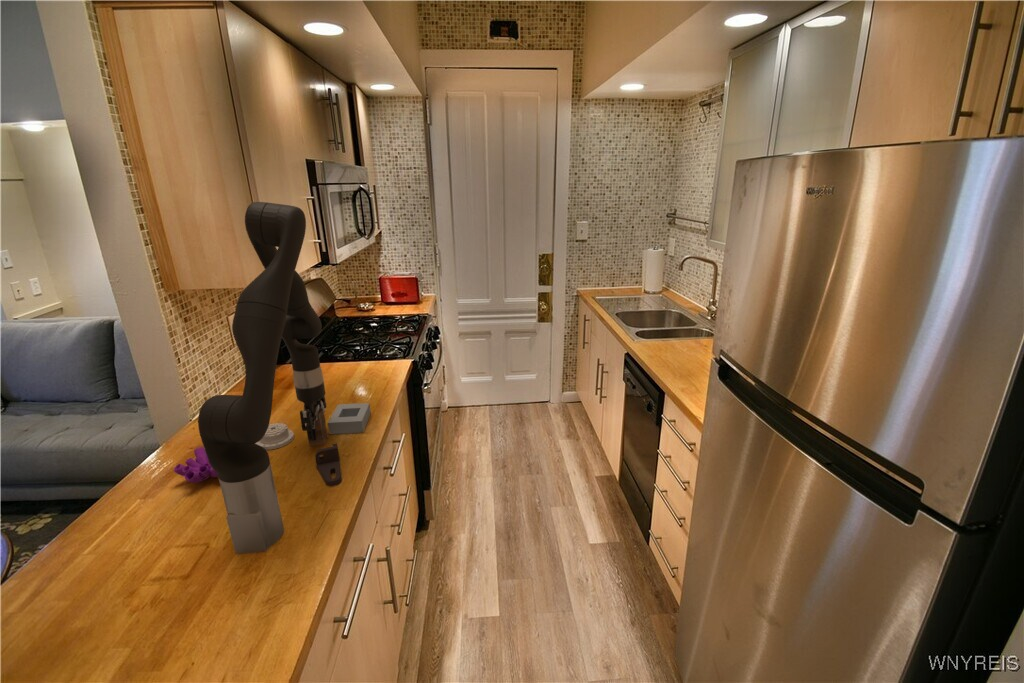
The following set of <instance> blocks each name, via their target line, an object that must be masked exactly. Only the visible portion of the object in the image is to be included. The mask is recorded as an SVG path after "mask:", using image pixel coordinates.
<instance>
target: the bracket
mask: <svg viewBox="0 0 1024 683" xmlns="http://www.w3.org/2000/svg"><path fill="white" fill-rule="evenodd" d="M338 446H339V445H338V443H337V442H336V443H332V444H331V446H329V447H325V448H320V449H318V450H316V452H315V455H314V457H315V458H314V459H315V465H316V469H317V470H318V472H319V474H320V475H321V478H322V480H323V481H324V483H325V485H327V486H328V487H336V486H338V485H340V484H341V483H342V480H343V478H342V471H341V470H342V469H341V461H340V454H339V452H340V451H339V447H338ZM332 474H335V477H333V478H332ZM335 485H336V486H335Z"/></svg>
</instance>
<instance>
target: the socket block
mask: <svg viewBox="0 0 1024 683" xmlns="http://www.w3.org/2000/svg"><path fill="white" fill-rule="evenodd" d="M371 415H372V414H371V404H370V402H367V403H366V402H365V403H362V402H361V403H343V404H342V403H341V404H338V405H337V406H336V407H335V410H333V413H332V415H331V417H330V418H329V419H328V422H327V427H328V434H329V435H341V434H343V435H345V434H362V433H364V432H365V430H366V427H367V425H368V422H369V420H370V416H371Z"/></svg>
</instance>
